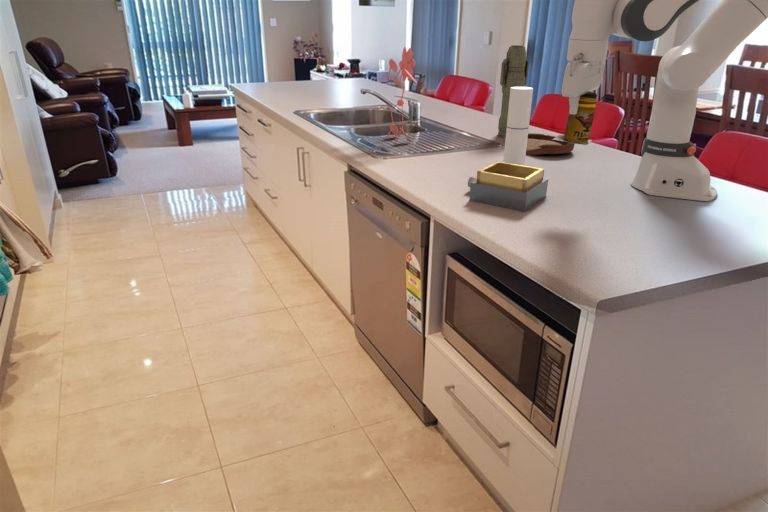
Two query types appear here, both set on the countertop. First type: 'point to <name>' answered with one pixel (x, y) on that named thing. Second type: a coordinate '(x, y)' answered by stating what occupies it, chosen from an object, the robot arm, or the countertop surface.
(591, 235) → the countertop surface
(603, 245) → the countertop surface
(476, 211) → the countertop surface
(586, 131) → the condiment
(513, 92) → the cylindrical container
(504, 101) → the green stone statue
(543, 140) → the basket
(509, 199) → the grey and gold box
